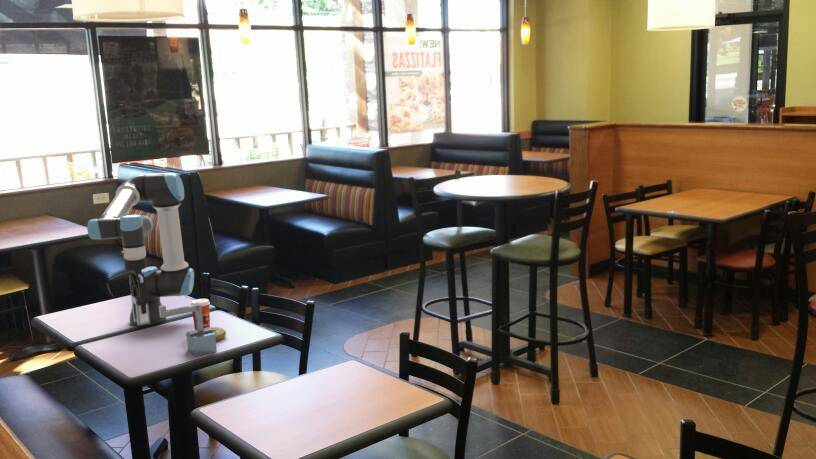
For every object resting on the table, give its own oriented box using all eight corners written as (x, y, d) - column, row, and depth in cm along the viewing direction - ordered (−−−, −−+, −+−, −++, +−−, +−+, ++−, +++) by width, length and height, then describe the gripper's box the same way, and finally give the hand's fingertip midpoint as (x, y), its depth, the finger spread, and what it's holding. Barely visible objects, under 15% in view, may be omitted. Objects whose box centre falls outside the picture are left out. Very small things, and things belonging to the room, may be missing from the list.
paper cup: (209, 336, 296) (206, 303, 294) (190, 337, 296) (187, 303, 294) (215, 330, 304) (212, 297, 301) (196, 331, 304) (193, 298, 302)
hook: (133, 321, 271) (131, 294, 269) (145, 319, 273) (142, 292, 271) (138, 325, 265) (135, 298, 263) (150, 323, 267) (147, 296, 265)
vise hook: (161, 355, 276) (155, 303, 273) (208, 344, 286) (204, 295, 283) (168, 362, 268) (163, 309, 265) (217, 351, 278) (212, 300, 274)
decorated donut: (194, 339, 295) (193, 330, 294) (219, 333, 301) (218, 324, 301) (204, 345, 287) (203, 335, 286) (230, 338, 293) (229, 329, 292)
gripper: (117, 255, 271) (124, 315, 275) (130, 264, 254) (137, 327, 258) (138, 252, 275) (145, 311, 279) (153, 260, 258) (159, 323, 262)
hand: (141, 319), depth 269 cm, fingers closed on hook, 7 cm apart
